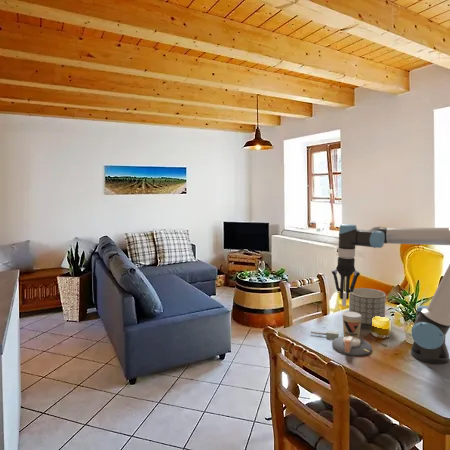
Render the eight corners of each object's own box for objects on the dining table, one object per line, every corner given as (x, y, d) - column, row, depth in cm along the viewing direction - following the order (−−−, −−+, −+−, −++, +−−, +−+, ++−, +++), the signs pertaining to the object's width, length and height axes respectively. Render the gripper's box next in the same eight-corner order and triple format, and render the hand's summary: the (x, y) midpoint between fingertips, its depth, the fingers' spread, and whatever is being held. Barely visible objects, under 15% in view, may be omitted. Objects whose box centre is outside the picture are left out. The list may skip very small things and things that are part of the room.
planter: (346, 317, 214) (346, 287, 212) (379, 318, 211) (379, 288, 210) (352, 329, 195) (353, 297, 193) (389, 330, 193) (390, 298, 191)
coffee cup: (341, 338, 183) (341, 316, 182) (342, 332, 192) (343, 310, 190) (360, 341, 179) (361, 318, 178) (361, 334, 188) (361, 312, 187)
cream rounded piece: (344, 338, 178) (345, 329, 178) (361, 341, 174) (361, 332, 174) (337, 350, 165) (338, 340, 165) (356, 354, 161) (356, 343, 161)
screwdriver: (338, 337, 185) (338, 332, 185) (338, 339, 183) (338, 334, 182) (311, 333, 190) (311, 328, 190) (310, 335, 187) (310, 330, 187)
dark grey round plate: (373, 343, 176) (373, 340, 176) (368, 359, 161) (368, 355, 161) (336, 336, 185) (336, 333, 185) (328, 350, 170) (328, 346, 170)
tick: (363, 350, 166) (363, 349, 166) (364, 349, 167) (364, 349, 167) (368, 352, 164) (368, 351, 164) (369, 351, 165) (369, 351, 164)
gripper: (359, 256, 169) (356, 303, 172) (330, 254, 171) (328, 302, 174) (362, 259, 162) (359, 309, 165) (333, 258, 164) (330, 307, 167)
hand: (343, 305), depth 169 cm, fingers closed
